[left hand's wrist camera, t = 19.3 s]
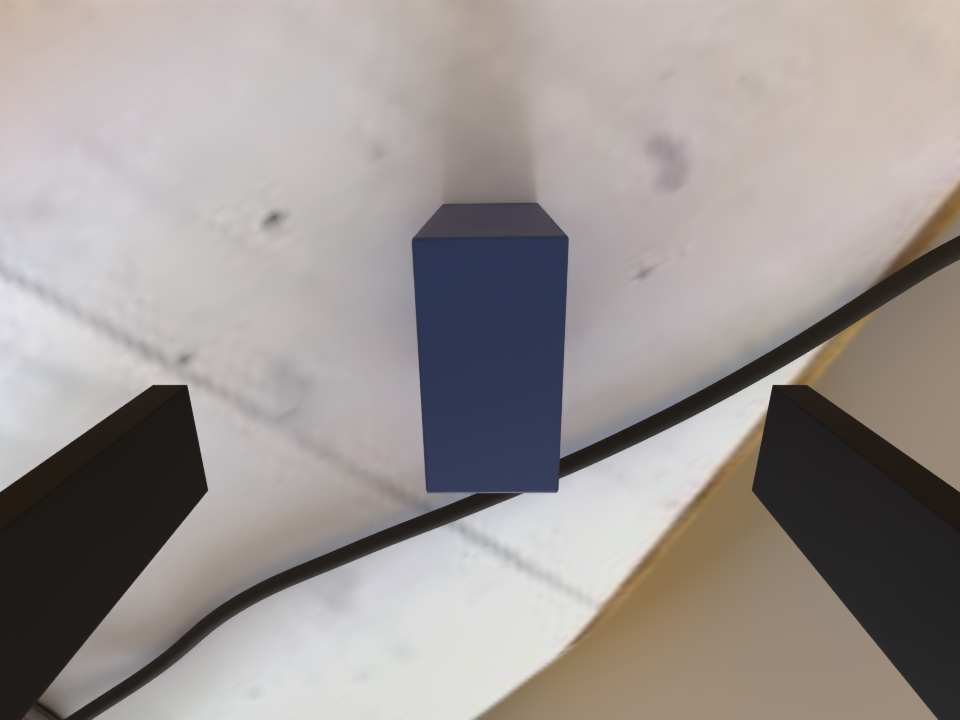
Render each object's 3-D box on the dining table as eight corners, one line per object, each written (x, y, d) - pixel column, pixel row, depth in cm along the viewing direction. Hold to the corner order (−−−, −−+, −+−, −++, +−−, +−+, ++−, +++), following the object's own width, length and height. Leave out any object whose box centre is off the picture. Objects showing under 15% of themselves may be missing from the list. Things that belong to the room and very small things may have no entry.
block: (448, 375, 26) (426, 494, 17) (441, 204, 23) (410, 238, 14) (534, 374, 26) (558, 494, 17) (538, 202, 23) (569, 235, 14)
